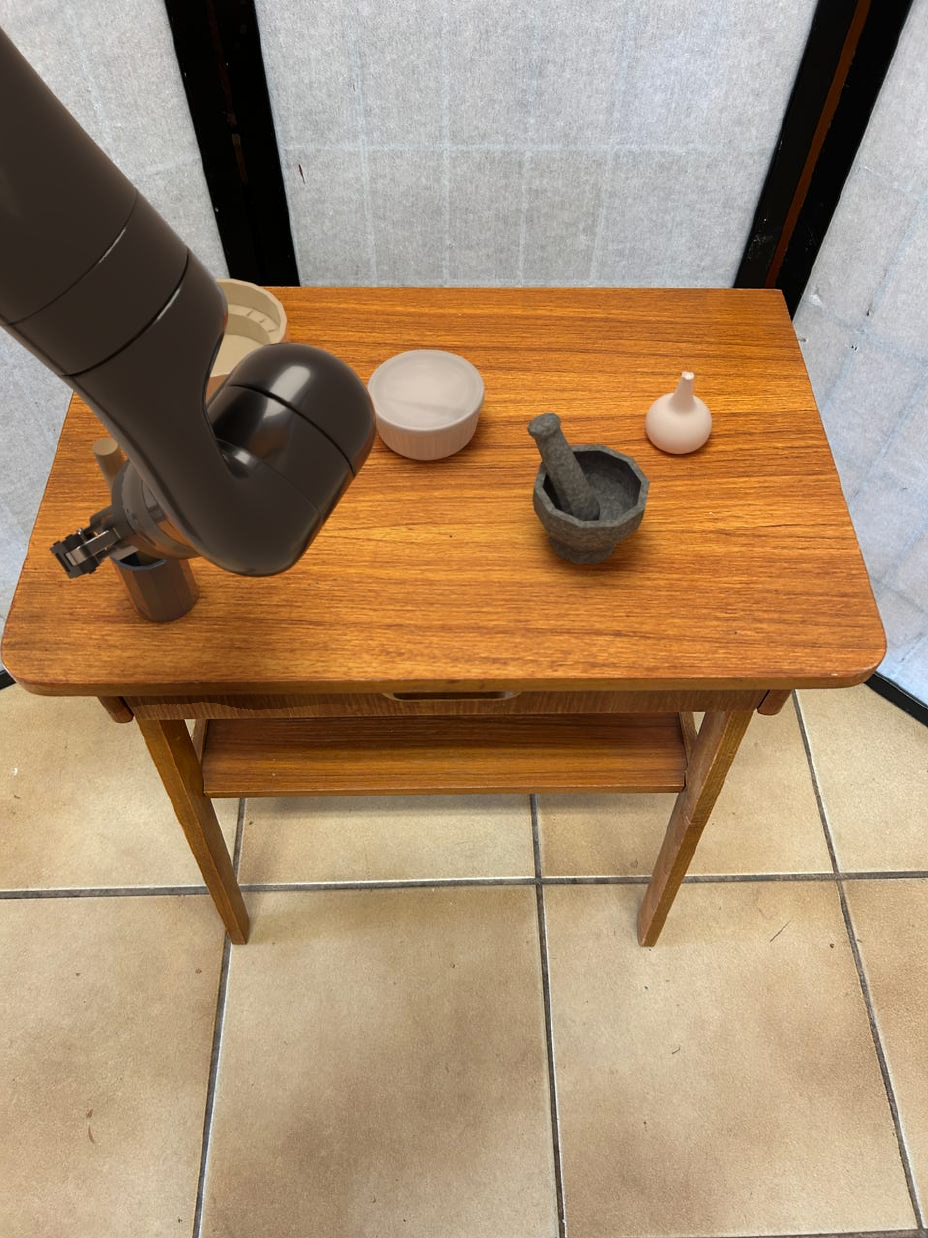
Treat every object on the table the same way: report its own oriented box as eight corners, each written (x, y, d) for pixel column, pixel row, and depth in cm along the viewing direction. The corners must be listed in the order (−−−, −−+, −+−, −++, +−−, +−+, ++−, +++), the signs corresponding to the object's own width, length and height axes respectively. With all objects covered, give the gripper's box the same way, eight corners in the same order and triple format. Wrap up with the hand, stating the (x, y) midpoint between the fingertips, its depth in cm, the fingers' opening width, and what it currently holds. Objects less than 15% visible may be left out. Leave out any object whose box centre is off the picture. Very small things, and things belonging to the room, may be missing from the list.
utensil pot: (136, 629, 79) (111, 577, 73) (128, 577, 82) (104, 524, 76) (203, 613, 80) (184, 561, 74) (193, 563, 83) (174, 508, 77)
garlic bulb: (716, 427, 94) (736, 362, 87) (694, 467, 91) (713, 402, 84) (656, 406, 96) (671, 340, 89) (633, 444, 92) (646, 379, 86)
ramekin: (388, 482, 89) (385, 440, 85) (355, 404, 95) (351, 362, 91) (500, 454, 91) (502, 412, 87) (461, 380, 97) (462, 338, 93)
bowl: (154, 439, 92) (137, 390, 87) (136, 342, 100) (120, 293, 96) (308, 407, 95) (300, 359, 90) (278, 315, 103) (270, 267, 98)
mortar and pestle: (655, 527, 86) (681, 428, 76) (608, 596, 81) (629, 501, 72) (546, 478, 90) (558, 378, 80) (495, 542, 85) (501, 444, 75)
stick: (154, 602, 80) (93, 457, 66) (152, 586, 81) (90, 439, 67) (176, 597, 80) (119, 451, 66) (173, 581, 81) (116, 434, 67)
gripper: (252, 385, 59) (191, 427, 73) (42, 499, 53) (20, 521, 67) (314, 491, 61) (243, 512, 75) (119, 612, 55) (81, 610, 69)
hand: (138, 516), depth 71 cm, fingers open, 8 cm apart
